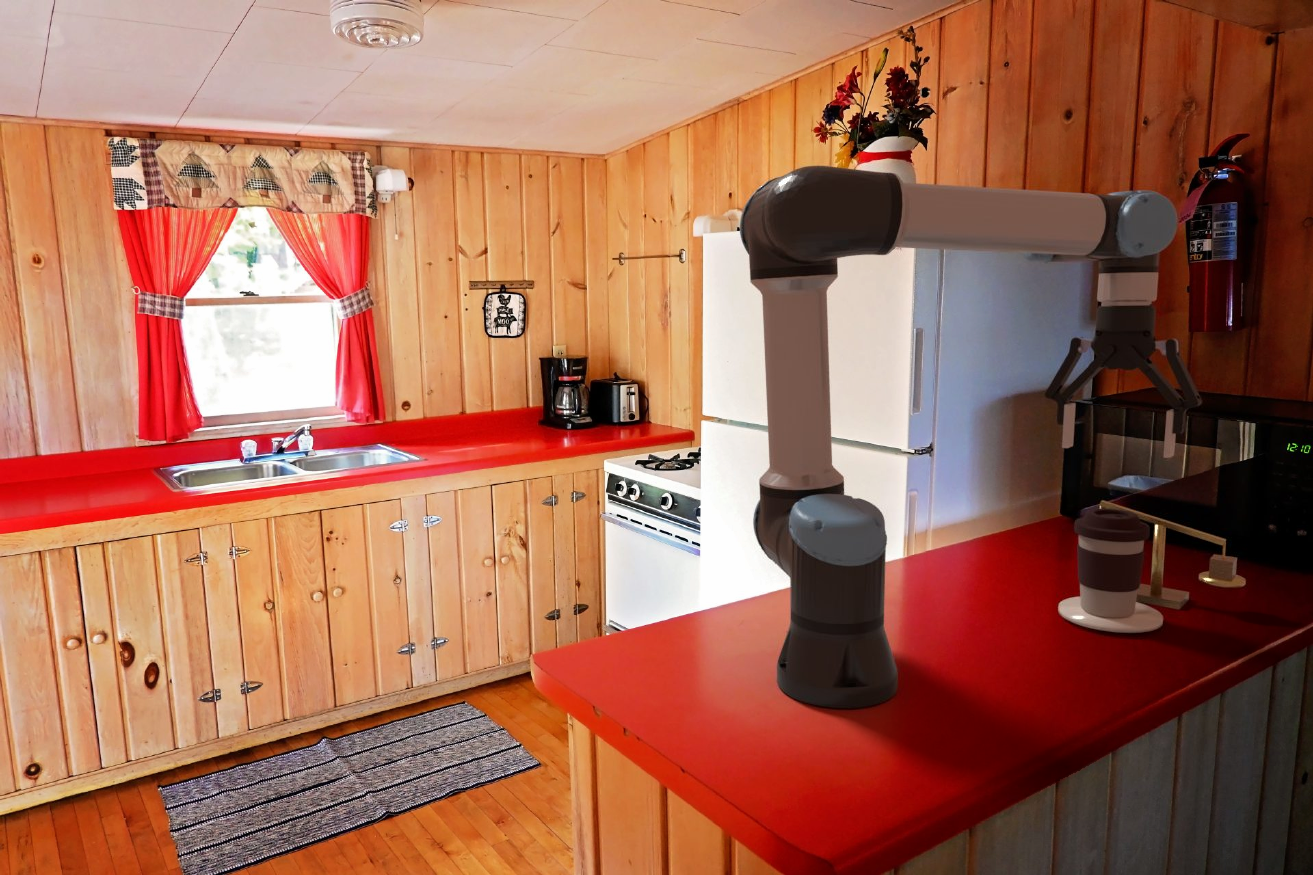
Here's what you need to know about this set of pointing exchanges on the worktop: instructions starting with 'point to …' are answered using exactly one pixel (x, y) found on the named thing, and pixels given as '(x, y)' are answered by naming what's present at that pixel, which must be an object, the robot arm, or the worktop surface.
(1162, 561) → the balance
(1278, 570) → the worktop surface
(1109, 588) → the coffee cup
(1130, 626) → the saucer
